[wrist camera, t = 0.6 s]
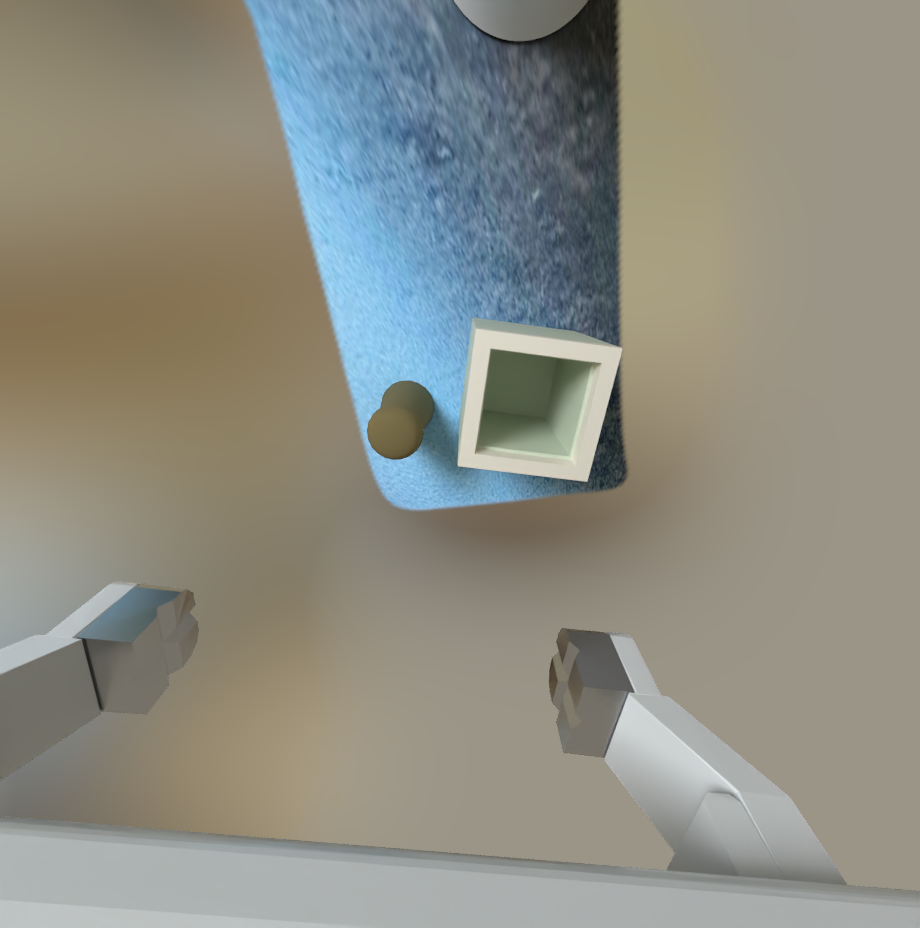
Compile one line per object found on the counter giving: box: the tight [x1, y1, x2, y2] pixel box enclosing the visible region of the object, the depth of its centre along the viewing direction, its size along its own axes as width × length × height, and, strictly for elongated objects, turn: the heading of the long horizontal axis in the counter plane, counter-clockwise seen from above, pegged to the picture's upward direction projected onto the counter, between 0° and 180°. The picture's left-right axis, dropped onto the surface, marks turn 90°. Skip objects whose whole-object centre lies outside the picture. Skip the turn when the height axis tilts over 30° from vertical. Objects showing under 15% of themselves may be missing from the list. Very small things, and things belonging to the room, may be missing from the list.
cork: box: [367, 381, 434, 460], centre depth 43 cm, size 6×6×11 cm
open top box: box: [458, 317, 622, 482], centre depth 40 cm, size 11×11×14 cm
